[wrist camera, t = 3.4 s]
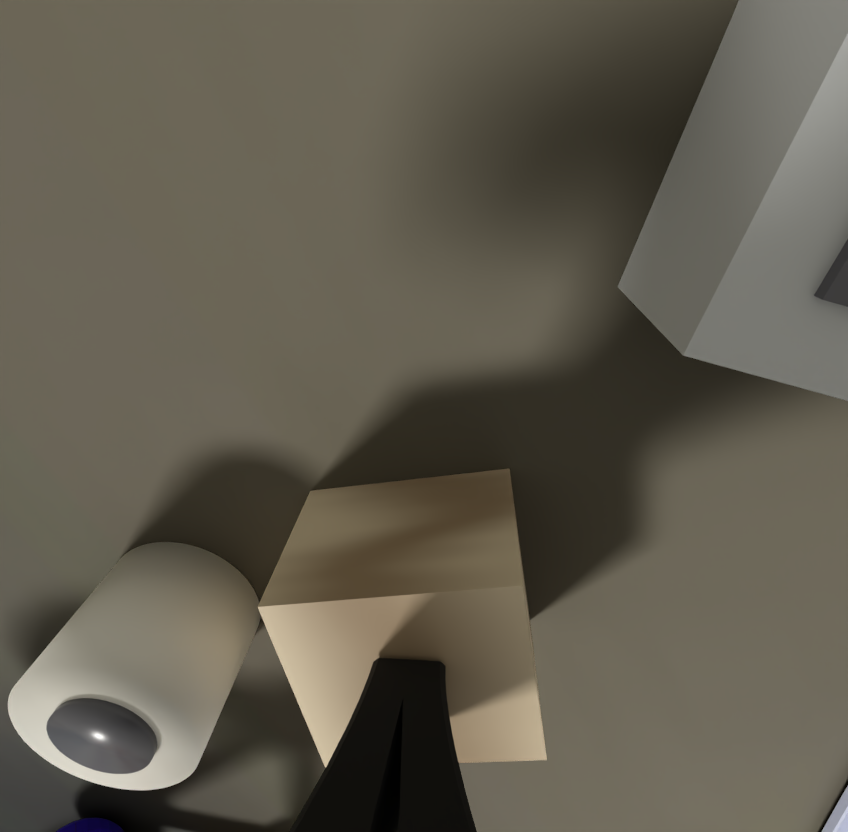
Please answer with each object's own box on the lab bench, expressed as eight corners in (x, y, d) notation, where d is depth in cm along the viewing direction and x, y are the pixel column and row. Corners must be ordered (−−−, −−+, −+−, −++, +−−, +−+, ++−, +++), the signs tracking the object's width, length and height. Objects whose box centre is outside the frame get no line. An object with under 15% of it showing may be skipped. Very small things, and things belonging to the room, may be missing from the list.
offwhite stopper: (247, 544, 15) (173, 681, 11) (270, 657, 17) (213, 805, 13) (93, 537, 15) (-30, 668, 12) (133, 649, 17) (39, 791, 13)
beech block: (509, 465, 13) (523, 585, 10) (529, 616, 15) (546, 759, 12) (311, 487, 14) (257, 606, 10) (357, 628, 16) (325, 767, 13)
